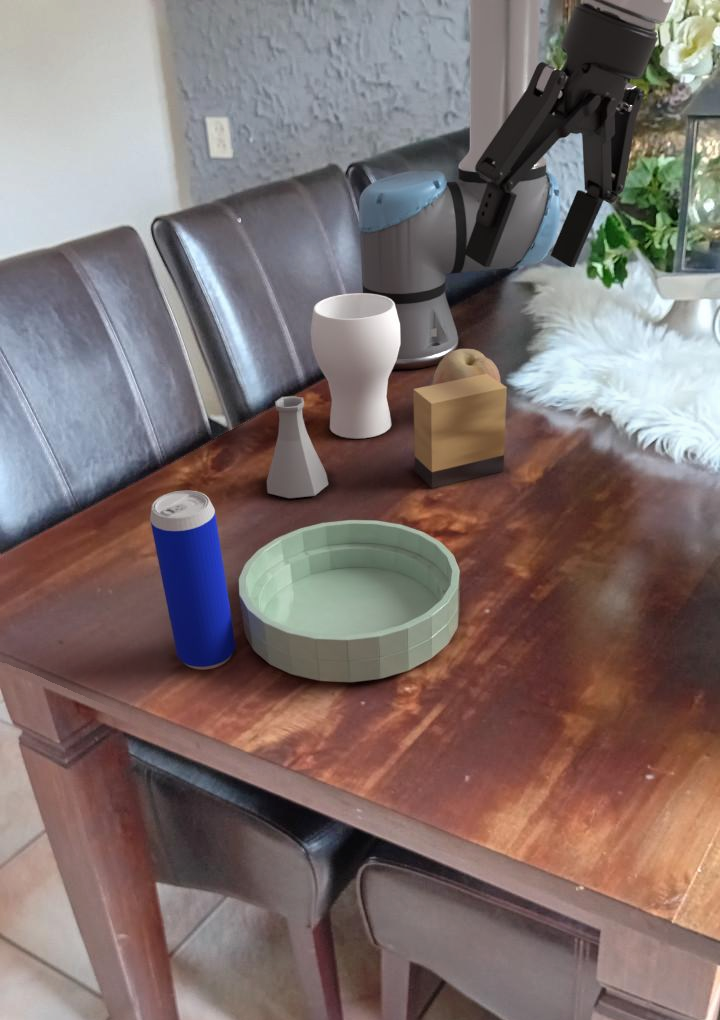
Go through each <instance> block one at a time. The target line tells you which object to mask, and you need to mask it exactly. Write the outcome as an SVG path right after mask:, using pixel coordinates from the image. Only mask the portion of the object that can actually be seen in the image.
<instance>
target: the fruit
mask: <svg viewBox="0 0 720 1020" xmlns="http://www.w3.org/2000/svg"><path fill="white" fill-rule="evenodd" d="M483 374H488V375H490V376H491V377H493V378H494V379H495V380H497V381H498V382H500V383H501V376H500V371H499V369H498V367H497V365H496V364H495V363H494V362H493V360H491V359H490V358H488V357H486V356H485V355H484V354H483V353H482V352H481V351H479V350H477V349H473V348H458V350H454V351H451V352H450V353H448V354H447V355H446V356H445V357H444V358H443V359H442V360H441V361H440V363H439V364H437V367H436V369H435V372H434V374H433V379H432V385H435V384H440V383H445V382H449V381H454V380H459V379H464V378H468V377H473V376H478V375H483ZM501 384H502V383H501Z"/></svg>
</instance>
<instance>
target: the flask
mask: <svg viewBox="0 0 720 1020" xmlns="http://www.w3.org/2000/svg"><path fill="white" fill-rule="evenodd" d="M274 403H275V410H276V411H277V412H278V418H279V420H278V433H277V438H276V442H275V447H274V451H273V454H272V455H273V456H272V460H271V462H270V465H269V470H268V475H267V478H266V490H267V494H270V495H275V496H278V497H281V498H285V499H296V498H305V497H315V496H317V494H320V493H321V491H323V490H324V489H325V488H326V487H328V486H329V481H328V480H329V479H328V475H327V472H326V470H325V467H324V465H323V463H322V462H321V460H320V458H319V455H318V454H317V451H316V450H315V447H314V445H313V443H312V440H311V437H310V436H309V434H308V431H307V428H306V424H305V420H304V417H303V408H304V407H305V400H304V397H301V396H295V395H289V396H281V397H280V398H278V399H276V400H275V401H274Z"/></svg>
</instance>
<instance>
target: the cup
mask: <svg viewBox="0 0 720 1020" xmlns="http://www.w3.org/2000/svg"><path fill="white" fill-rule="evenodd" d="M310 342H311V350H312V352H313V355H314V358H315V360H316V363H317V366H318V368H319V369H320V371H321V372H322V375H324V377H325V379H326V380H327V383H328V388H329V389H328V390H329V393H330V398H331V405H330V415H329V429H330V431H331V433H333V434H334V435H336V436H339V437H341V438H345V439H355V440H357V439H367V438H373V437H377V436H380V435H382V434H385V433H386V432H387V431H389V430H390V429H391V427H392V418H391V411H390V407H389V402H388V399H387V398H388V397H387V394H388V384H389V377H390V375H391V374H392V371H393V370H394V369H393V367H394V365H395V363H396V360H397V356H398V352H399V348H400V344H401V343H400V322H399V319H398V315H397V311H396V307H395V303H394V302H393V301H392V300H391V299H390V298H387V297H385V296H381V295H377V294H368V293H363V292H362V293H361V292H356V293H345V294H339V295H333V296H329V297H326V298H324V299H322V300H320V301H318V302H317V303H316V304H315V305H314V306H313V310H312V317H311V323H310Z"/></svg>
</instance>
